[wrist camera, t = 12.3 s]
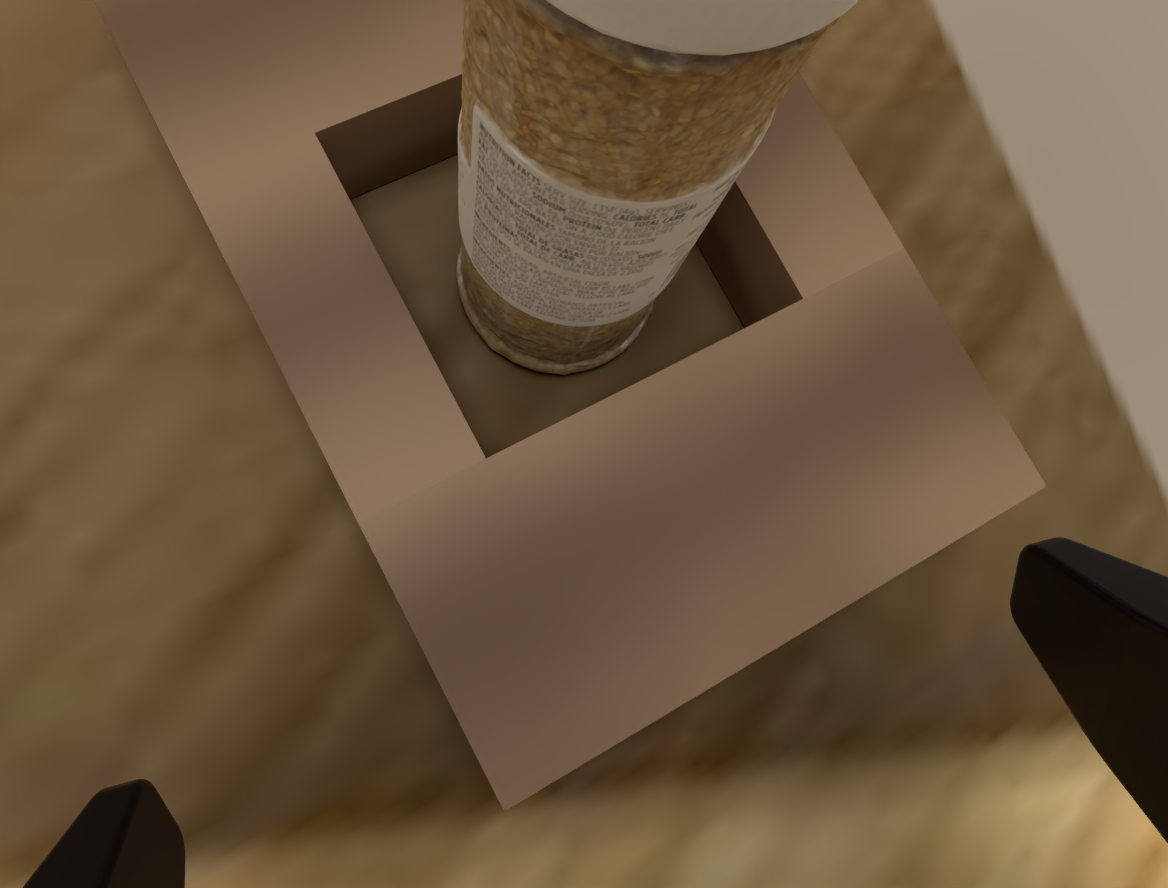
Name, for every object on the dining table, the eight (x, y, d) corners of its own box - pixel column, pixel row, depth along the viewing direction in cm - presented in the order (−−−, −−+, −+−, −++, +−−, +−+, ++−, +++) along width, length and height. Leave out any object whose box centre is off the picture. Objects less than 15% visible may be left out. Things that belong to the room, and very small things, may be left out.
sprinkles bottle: (528, 154, 20) (654, -682, 7) (691, 264, 20) (1110, -367, 7) (412, 306, 19) (312, -353, 6) (584, 422, 19) (850, 15, 6)
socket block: (961, 504, 20) (1046, 486, 17) (496, 778, 18) (504, 811, 15) (591, -130, 22) (611, -244, 19) (122, 38, 19) (62, -63, 16)
